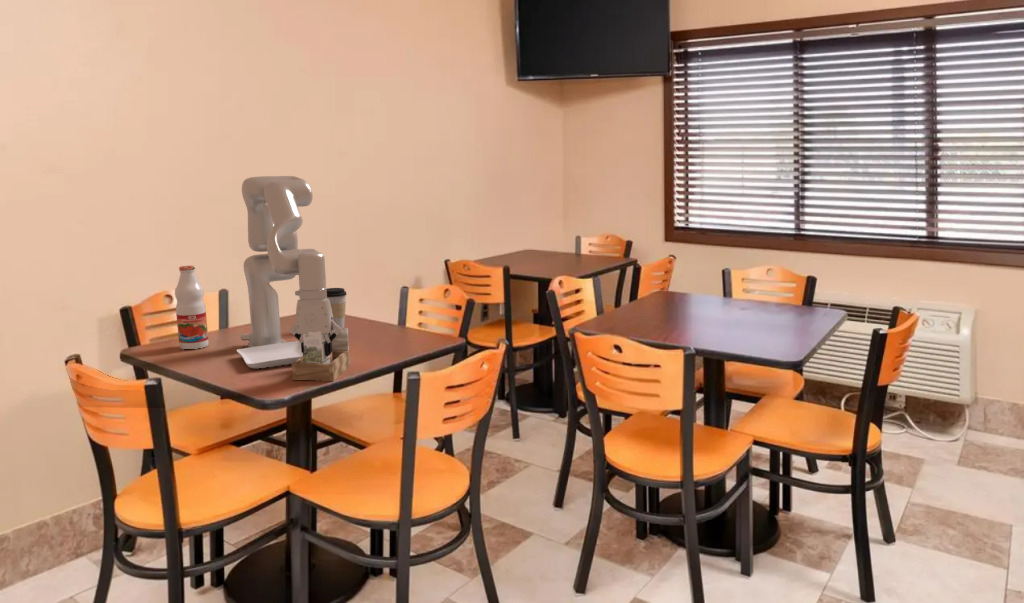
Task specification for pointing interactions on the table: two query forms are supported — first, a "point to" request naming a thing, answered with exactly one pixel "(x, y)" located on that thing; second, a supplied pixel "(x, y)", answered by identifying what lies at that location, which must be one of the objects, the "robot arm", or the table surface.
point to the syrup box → (315, 348)
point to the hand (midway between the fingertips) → (317, 354)
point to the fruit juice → (190, 311)
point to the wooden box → (325, 370)
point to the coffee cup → (337, 304)
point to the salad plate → (271, 355)
